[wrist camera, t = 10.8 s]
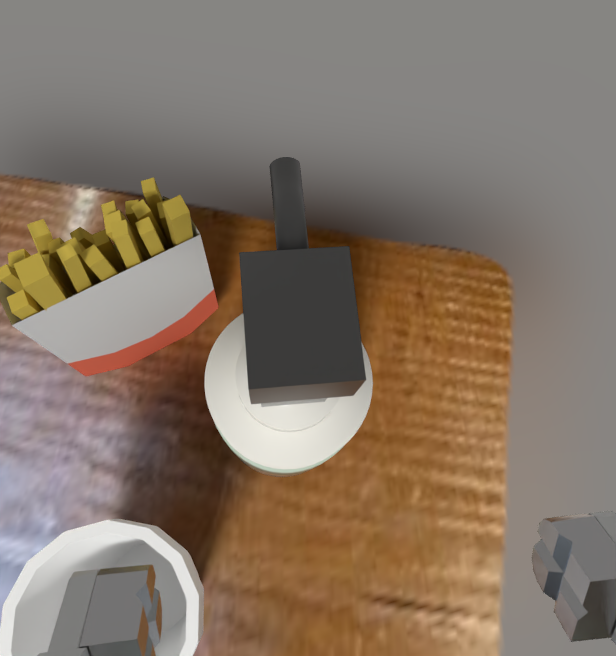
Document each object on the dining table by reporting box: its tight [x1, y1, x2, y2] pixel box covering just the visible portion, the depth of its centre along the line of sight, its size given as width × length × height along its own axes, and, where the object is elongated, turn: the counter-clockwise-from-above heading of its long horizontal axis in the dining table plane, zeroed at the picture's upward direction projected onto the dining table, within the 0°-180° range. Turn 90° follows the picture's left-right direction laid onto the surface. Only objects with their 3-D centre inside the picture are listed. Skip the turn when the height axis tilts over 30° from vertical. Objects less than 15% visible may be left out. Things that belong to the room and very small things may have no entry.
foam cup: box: [0, 519, 204, 656], centre depth 33 cm, size 10×9×13 cm
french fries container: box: [0, 178, 219, 376], centre depth 36 cm, size 5×11×18 cm, turn 121°
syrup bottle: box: [204, 314, 373, 477], centre depth 33 cm, size 9×9×22 cm
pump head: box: [239, 157, 366, 404], centre depth 25 cm, size 4×9×9 cm, turn 6°
